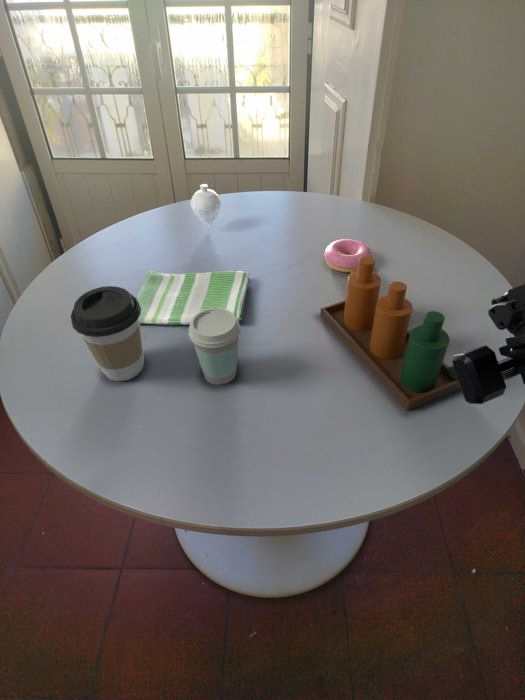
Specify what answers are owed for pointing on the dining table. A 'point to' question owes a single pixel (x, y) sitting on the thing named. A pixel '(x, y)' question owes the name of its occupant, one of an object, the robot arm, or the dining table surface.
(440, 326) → the green bottle
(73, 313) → the coffee cup
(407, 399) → the tray
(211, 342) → the coffee cup
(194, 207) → the spinning top
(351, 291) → the amber bottle
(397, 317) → the amber bottle
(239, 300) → the dish towel
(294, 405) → the dining table surface
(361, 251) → the doughnut
